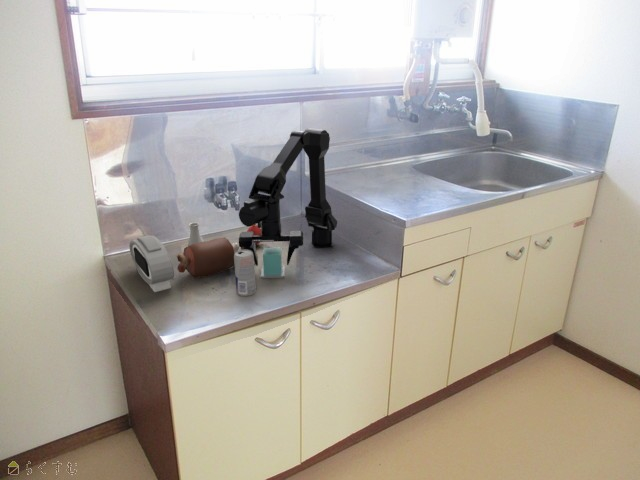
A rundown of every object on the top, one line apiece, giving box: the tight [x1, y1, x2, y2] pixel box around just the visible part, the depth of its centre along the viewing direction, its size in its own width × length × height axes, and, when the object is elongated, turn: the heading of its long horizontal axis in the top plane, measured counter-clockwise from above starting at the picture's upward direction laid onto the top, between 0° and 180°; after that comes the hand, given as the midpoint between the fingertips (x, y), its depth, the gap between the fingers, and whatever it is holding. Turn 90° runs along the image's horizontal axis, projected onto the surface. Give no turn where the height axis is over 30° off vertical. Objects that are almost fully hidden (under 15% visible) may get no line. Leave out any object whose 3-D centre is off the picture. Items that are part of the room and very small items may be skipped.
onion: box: [246, 224, 261, 246], centre depth 177 cm, size 6×6×8 cm
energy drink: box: [234, 249, 257, 297], centre depth 145 cm, size 5×5×12 cm
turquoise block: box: [262, 247, 283, 275], centre depth 157 cm, size 5×5×7 cm
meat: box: [176, 237, 240, 279], centre depth 157 cm, size 20×12×10 cm, turn 128°
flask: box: [187, 222, 205, 247], centre depth 171 cm, size 7×7×10 cm
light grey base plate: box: [260, 265, 286, 279], centre depth 157 cm, size 7×7×6 cm
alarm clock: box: [129, 235, 175, 293], centre depth 152 cm, size 23×6×13 cm, turn 33°
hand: (272, 264), depth 157 cm, fingers open, 9 cm apart
